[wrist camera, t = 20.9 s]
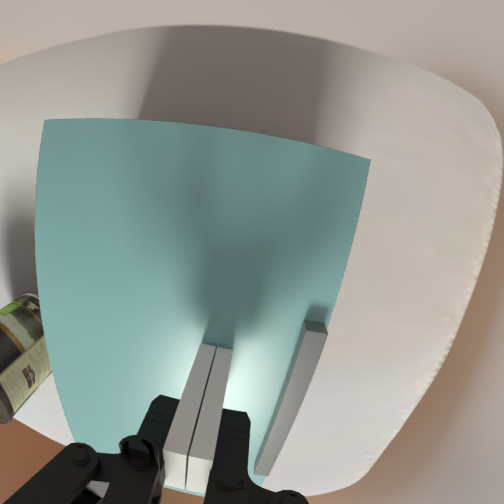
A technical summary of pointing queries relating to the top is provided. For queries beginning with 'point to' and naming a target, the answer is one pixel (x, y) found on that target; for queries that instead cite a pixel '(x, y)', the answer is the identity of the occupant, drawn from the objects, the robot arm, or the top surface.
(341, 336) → the top surface
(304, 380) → the cover
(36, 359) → the coffee can
